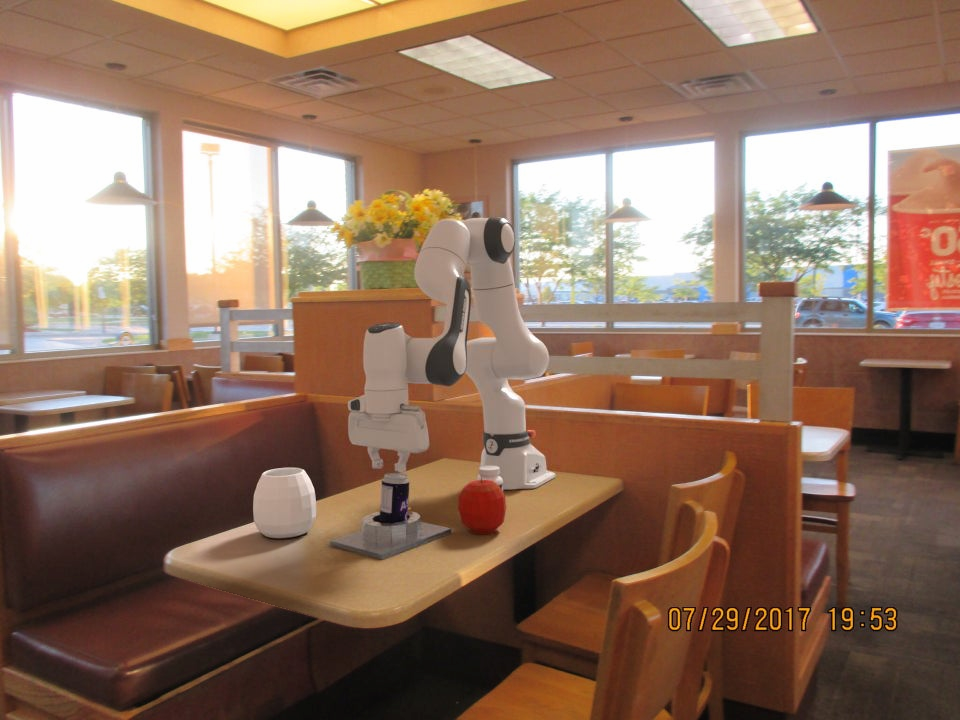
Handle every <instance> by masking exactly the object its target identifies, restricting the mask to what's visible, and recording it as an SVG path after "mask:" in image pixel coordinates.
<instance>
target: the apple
mask: <svg viewBox="0 0 960 720" xmlns="http://www.w3.org/2000/svg"><path fill="white" fill-rule="evenodd" d="M457 497H458V500H457V509H458V513H459V517H460V521H461V523H462V525H463V526H464V527H465V528H466V529H468V530H469V531H470V532H471V533H473V534H478V535H479V534H480V535H485V534H486V535H487V534H493V533H494V532H496V531H497V530H498V528H500V526H502V525H503V523H504V522H505V515H506V511H507V502H506V494H505V493H504V490H503V491H502V489H501V488H500V486H499V485H498V484H496V483H495V482H493V481H491V480H482V478H481V480H477V481H476V480H471V481H470V482H469V483H467V484H466V485H464V487H463V488H462V489H461V492H459V494H458V496H457Z"/></svg>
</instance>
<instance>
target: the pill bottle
mask: <svg viewBox="0 0 960 720" xmlns="http://www.w3.org/2000/svg"><path fill="white" fill-rule="evenodd" d="M499 473H500V471H499V467H498V466H482V467H481V466H479V467H478V476H479V475H480V476H479V477H478V476H477V478H476V479H475V481H477V480H481V478H482V480H491V481H493V482H495V483H496V484H498V485H499V486H500V488H501V489H502V491H503V492H504V489H503V480H502V478H501V477H500V476H498V474H499Z"/></svg>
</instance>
